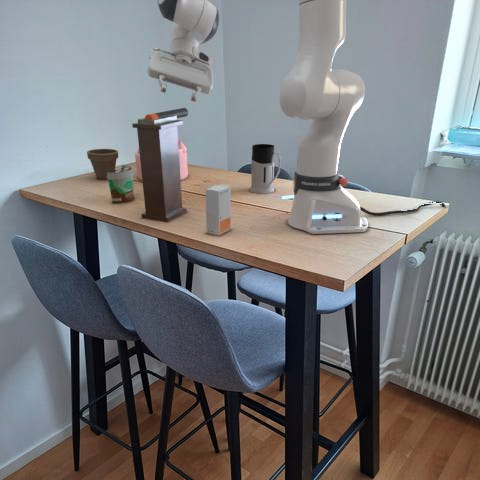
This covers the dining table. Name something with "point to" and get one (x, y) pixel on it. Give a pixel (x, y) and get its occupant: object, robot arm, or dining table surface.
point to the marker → (168, 114)
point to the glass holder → (263, 168)
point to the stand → (160, 167)
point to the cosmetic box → (218, 209)
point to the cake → (181, 159)
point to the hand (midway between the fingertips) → (178, 95)
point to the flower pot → (103, 161)
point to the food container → (121, 184)
